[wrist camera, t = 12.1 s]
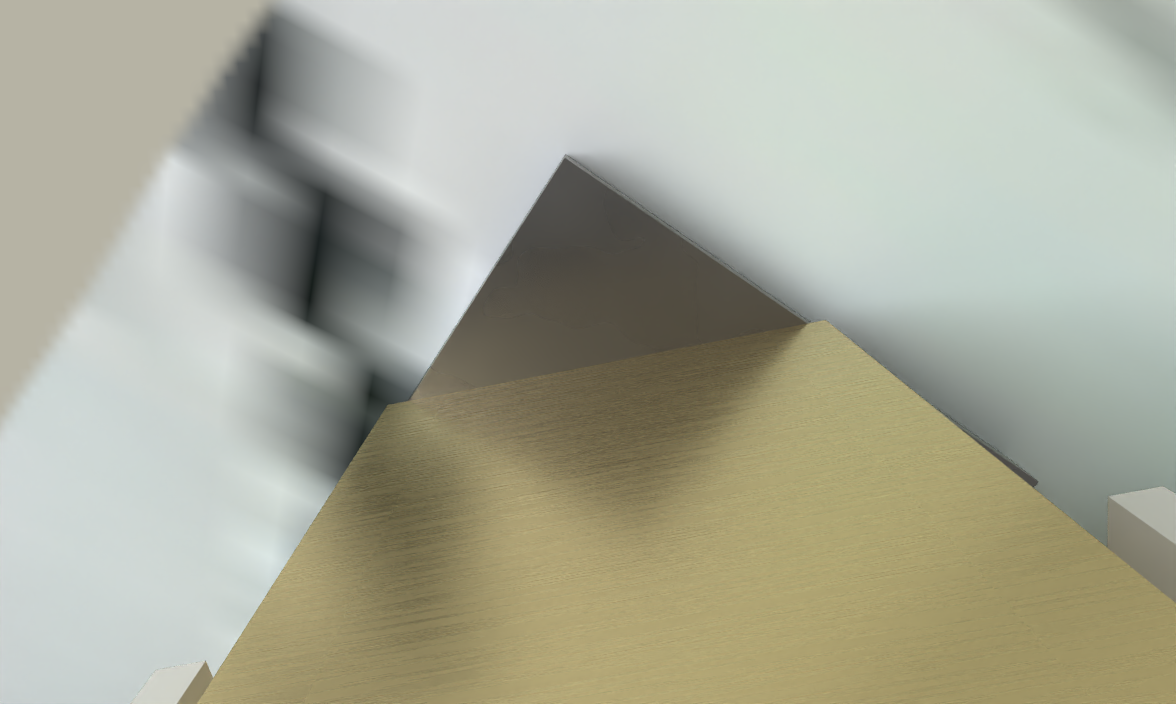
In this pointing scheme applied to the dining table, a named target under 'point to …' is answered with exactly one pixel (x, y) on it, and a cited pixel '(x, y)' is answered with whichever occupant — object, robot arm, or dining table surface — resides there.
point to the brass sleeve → (697, 552)
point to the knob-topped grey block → (600, 295)
